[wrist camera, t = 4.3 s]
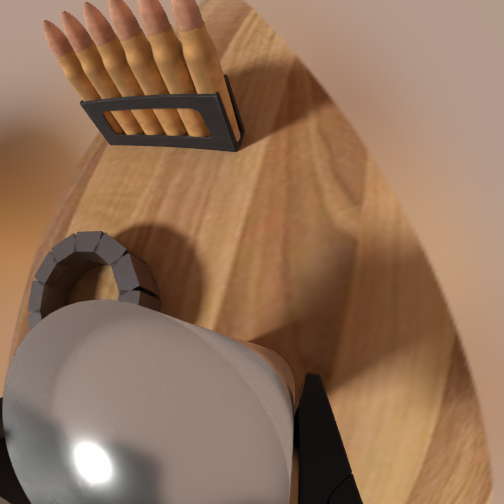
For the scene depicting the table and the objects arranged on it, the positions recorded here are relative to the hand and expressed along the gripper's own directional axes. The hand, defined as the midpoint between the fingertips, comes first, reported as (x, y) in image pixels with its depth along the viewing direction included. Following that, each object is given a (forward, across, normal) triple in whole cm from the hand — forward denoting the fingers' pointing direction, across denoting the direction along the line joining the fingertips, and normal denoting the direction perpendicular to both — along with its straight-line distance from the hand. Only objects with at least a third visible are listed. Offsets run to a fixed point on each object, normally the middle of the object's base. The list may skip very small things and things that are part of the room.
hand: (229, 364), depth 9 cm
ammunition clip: (+14, +9, -4) cm, 17 cm away
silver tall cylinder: (+4, 0, +6) cm, 7 cm away
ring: (+5, +10, +5) cm, 12 cm away
